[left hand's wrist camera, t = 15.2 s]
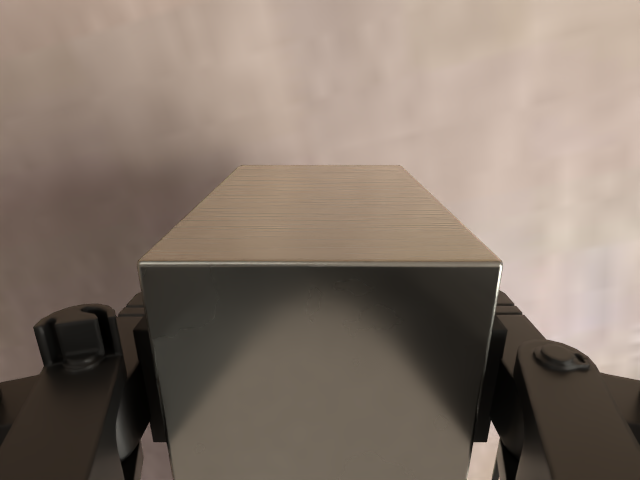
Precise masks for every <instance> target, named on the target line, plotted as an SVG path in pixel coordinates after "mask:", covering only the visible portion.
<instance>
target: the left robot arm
mask: <svg viewBox="0 0 640 480" xmlns="http://www.w3.org/2000/svg"><path fill="white" fill-rule="evenodd" d="M33 329H34V332H35V336H36V339H37V343H38V346H39V350H40V353H41V357H42V360H43V364H44V367H43V369H42V371H41V373H40V375H36V376H31V377H26V378H21V379H16V380H11V381H6V382H1V383H0V480H140V478H141V471H142V464H143V450H142V445H141V440H140V439H141V437H142V435H143V433H144V431H145V429H146V427H147V425H148V423H149V422H150V426H151V432H152V437H153V442H167V441H166V435H165V429H164V423H163V417H162V411H161V405H160V399H159V393H158V387H157V382H156V376H155V370H154V364H153V358H152V352H151V346H150V340H149V334H148V328H147V322H146V316H145V311H144V305H143V299H142V293H141V292H140V293H138V294H136V295H135V296H134V297H133V298H132V300H131V301H130V302H129V303H128V304H127V305H126V308H124V309H123V310H122V311H121V312H120V313H119V314H118V317H116V315H115V310H114V309H112V308H111V307H109V306H107V305H102V304H83V305H78V306H73V307H68V308H65V309H62V310H60V311H57V312H54V313H52V314H50V315H49V316H47V317H45V318H43V319H41V320H40V321H39V322H38V323H37V324H36V325H35V326H34V327H33ZM491 421H492V423H493V425H494V427H495V428H496V430H497V432H498V434H499V436H500V440H499V445H498V450H497V455H496V460H495V465H494V470H493V475H492V480H498V479H499V477H500V480H640V381H639V380H634V379H629V378H624V377H619V376H614V375H608V374H604V373H600V372H599V370H598V368H597V367H596V365H595V364H594V363H593V362H592V361H591V359H590V358H589V357H588V356H586V355H585V354H583V353H582V352H580V351H579V350H577V349H575V348H573V347H570V346H568V345H565V344H563V343H559V342H555V341H551V340H546V339H545V338H544V336H543V335H542V334H541V333H540V332H539V331H538V330H537V329H536V328H535V326H534V325H533V324H532V323H531V322H530V321H529V320H528V319H527V318H526V316H525V315H522V312H521V311H520V310H519V309H518V307H517V306H514V303H513V302H512V301H511V300H510V299H509V297H508V296H507V295H506V294H505V293H503V292H502V291H500V290H499V293H498V299H497V305H496V311H495V317H494V322H493V328H492V334H491V340H490V346H489V352H488V358H487V364H486V370H485V376H484V382H483V388H482V393H481V399H480V405H479V411H478V417H477V423H476V429H475V435H474V441H473V442H487V439H488V433H489V428H490V422H491Z"/></svg>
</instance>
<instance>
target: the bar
mask: <svg viewBox="0 0 640 480" xmlns="http://www.w3.org/2000/svg"><path fill="white" fill-rule="evenodd" d="M137 269H138V275H139V281H140V287H141V293H142V299H143V305H144V311H145V316H146V322H147V328H148V334H149V340H150V346H151V352H152V358H153V364H154V370H155V376H156V382H157V387H158V393H159V399H160V405H161V411H162V417H163V423H164V429H165V435H166V441H167V447H168V453H169V459H170V464H171V470H172V476H173V480H467V476H468V470H469V465H470V459H471V453H472V447H473V441H474V435H475V429H476V423H477V417H478V411H479V405H480V399H481V393H482V388H483V382H484V376H485V370H486V364H487V358H488V352H489V346H490V340H491V334H492V328H493V322H494V317H495V311H496V305H497V299H498V293H499V287H500V281H501V275H502V269H503V264H502V261H501V260H500V259H499V258H498V257H497V256H496V255H495V254H494V253H493V252H492V251H491V250H490V249H489V248H488V247H487V246H485V245H484V244H483V243H482V242H481V241H480V240H479V239H478V238H477V237H476V236H475V235H474V234H473V233H472V232H471V231H470V230H469V229H467V228H466V227H465V226H464V225H463V224H462V223H461V222H460V221H459V220H458V219H457V218H456V217H455V216H454V215H453V214H452V213H451V212H449V211H448V210H447V209H446V208H445V207H444V206H443V205H442V204H441V203H440V202H439V201H438V200H437V199H436V198H435V197H434V196H433V195H431V194H430V193H429V192H428V191H427V190H426V189H425V188H424V187H423V186H422V185H421V184H420V183H419V182H418V181H417V180H416V179H415V178H413V177H412V176H411V175H410V174H409V173H408V172H407V171H406V170H405V169H404V168H403V167H402V166H400V165H241V166H239V167H238V168H237V169H236V170H235V171H234V172H232V173H231V174H230V175H229V176H228V177H227V178H226V179H225V180H224V181H223V182H222V183H221V184H220V185H219V186H217V187H216V188H215V189H214V190H213V191H212V192H211V193H210V194H209V195H208V196H207V197H206V198H205V199H204V200H203V201H201V202H200V203H199V204H198V205H197V206H196V207H195V208H194V209H193V210H192V211H191V212H190V213H189V214H188V215H186V216H185V217H184V218H183V219H182V220H181V221H180V222H179V223H178V224H177V225H176V226H175V227H174V228H173V229H172V230H170V231H169V232H168V233H167V234H166V235H165V236H164V237H163V238H162V239H161V240H160V241H159V242H158V243H157V244H155V245H154V246H153V247H152V248H151V249H150V250H149V251H148V252H147V253H146V254H145V255H144V256H143V257H142V258H140V259H139V260H138V263H137Z"/></svg>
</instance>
